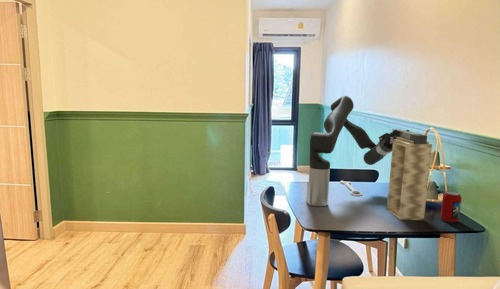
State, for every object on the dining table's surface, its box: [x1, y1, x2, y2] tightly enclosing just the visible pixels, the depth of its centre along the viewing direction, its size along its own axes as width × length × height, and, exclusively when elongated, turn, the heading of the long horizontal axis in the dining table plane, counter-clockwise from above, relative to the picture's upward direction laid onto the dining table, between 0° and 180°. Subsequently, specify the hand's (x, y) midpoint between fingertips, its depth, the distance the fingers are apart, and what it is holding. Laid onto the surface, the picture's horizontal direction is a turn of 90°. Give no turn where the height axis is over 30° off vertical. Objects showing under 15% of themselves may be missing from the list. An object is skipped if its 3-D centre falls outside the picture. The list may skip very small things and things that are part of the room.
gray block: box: [391, 128, 428, 144], centre depth 151 cm, size 5×22×4 cm, turn 3°
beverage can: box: [440, 190, 462, 223], centre depth 146 cm, size 7×7×12 cm
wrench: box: [339, 180, 363, 197], centre depth 192 cm, size 28×2×6 cm
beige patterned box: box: [386, 137, 433, 221], centre depth 150 cm, size 10×13×33 cm
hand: (402, 131), depth 156 cm, fingers open, 4 cm apart
